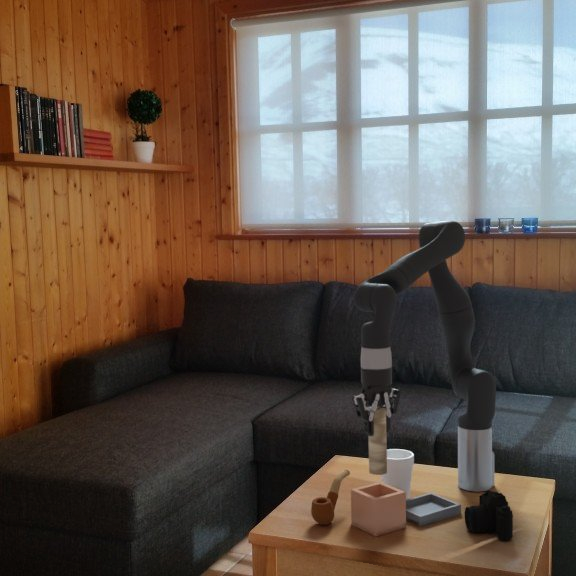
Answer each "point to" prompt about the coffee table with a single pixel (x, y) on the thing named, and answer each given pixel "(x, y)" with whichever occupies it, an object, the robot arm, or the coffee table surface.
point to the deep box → (378, 508)
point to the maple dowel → (378, 443)
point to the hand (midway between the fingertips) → (377, 433)
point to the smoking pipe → (327, 502)
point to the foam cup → (399, 469)
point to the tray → (430, 509)
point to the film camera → (491, 516)
